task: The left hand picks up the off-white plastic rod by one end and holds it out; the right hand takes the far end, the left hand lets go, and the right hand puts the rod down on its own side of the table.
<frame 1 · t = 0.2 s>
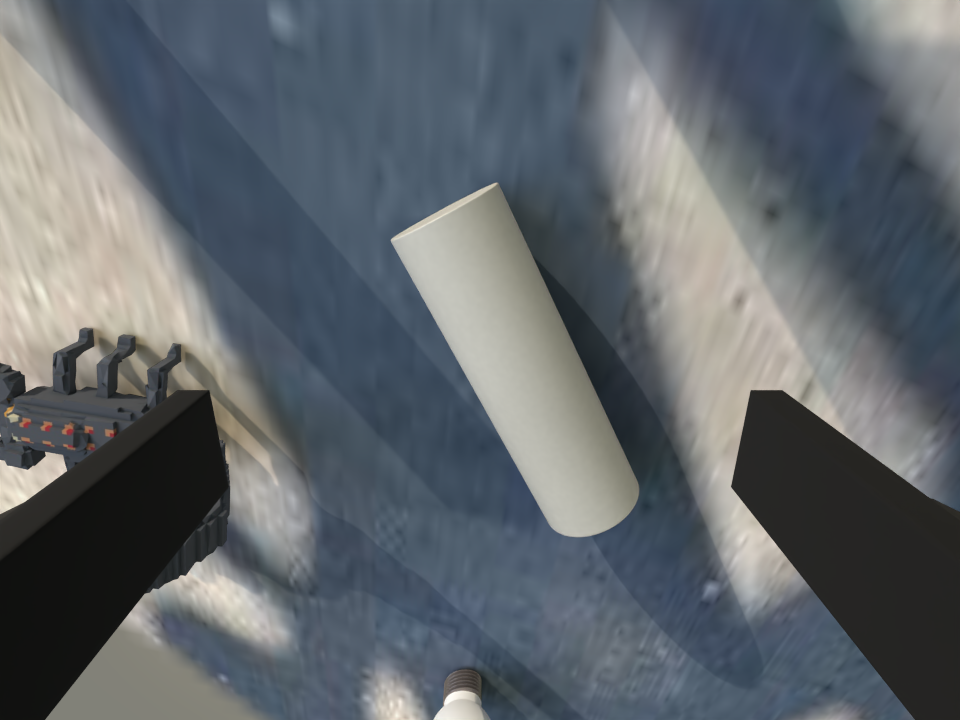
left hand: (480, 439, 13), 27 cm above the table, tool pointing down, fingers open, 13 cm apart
light bulb: (463, 680, 54), on the table
rod: (521, 352, 41), on the table
toy: (120, 401, 42), on the table
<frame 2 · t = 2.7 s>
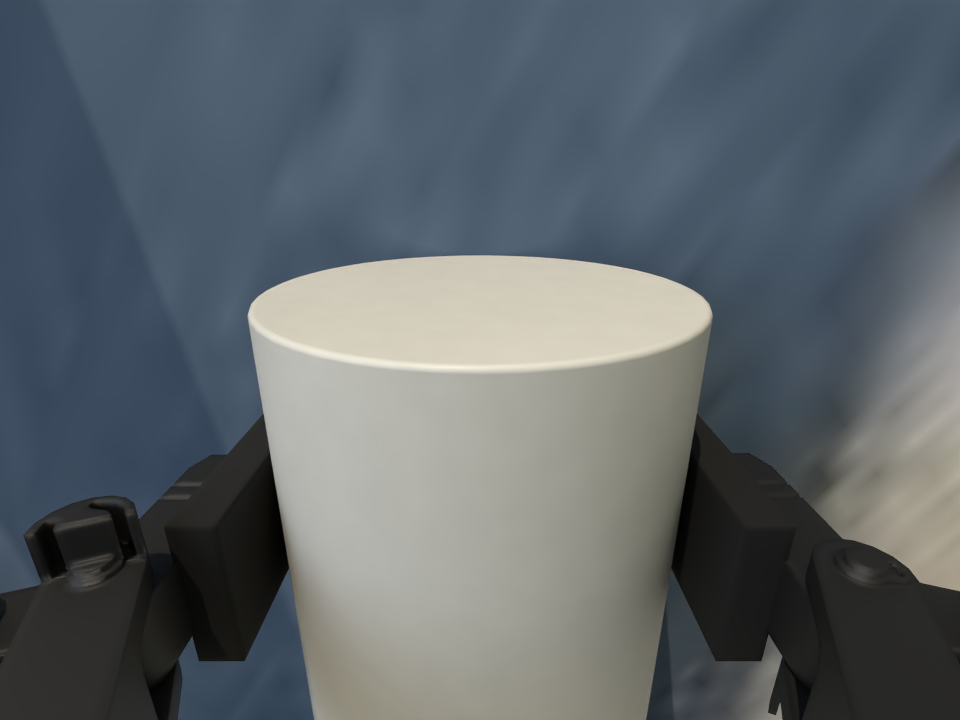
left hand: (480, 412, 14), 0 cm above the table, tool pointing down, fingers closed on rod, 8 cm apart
rod: (480, 626, 17), on the table, touching left hand
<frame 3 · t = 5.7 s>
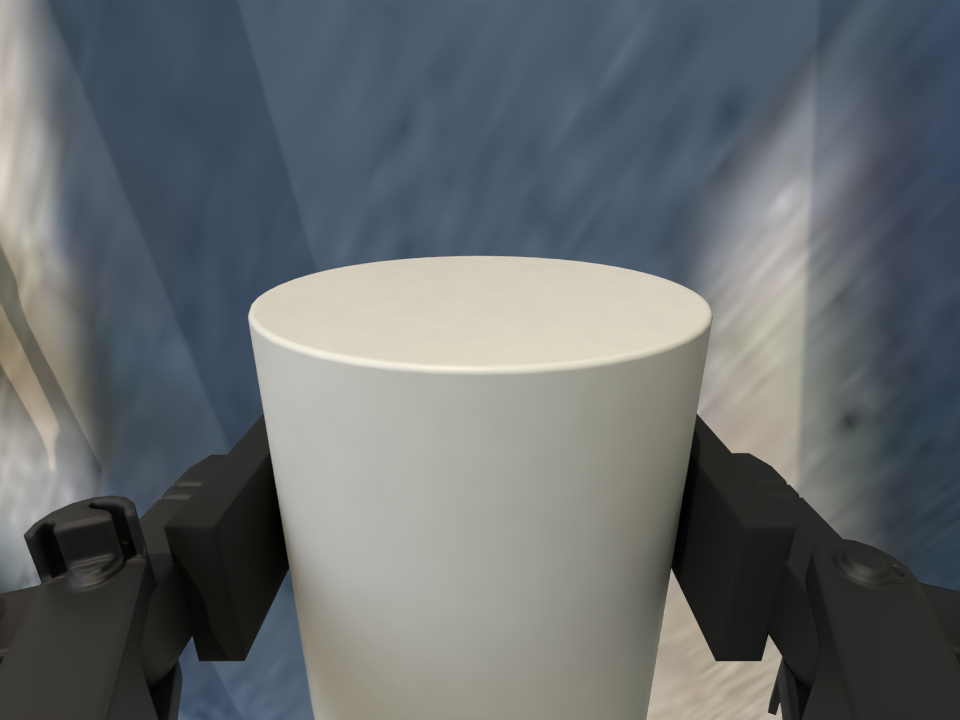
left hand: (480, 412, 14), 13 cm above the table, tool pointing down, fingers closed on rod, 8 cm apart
rod: (480, 626, 17), point 12 cm above the table, touching left hand
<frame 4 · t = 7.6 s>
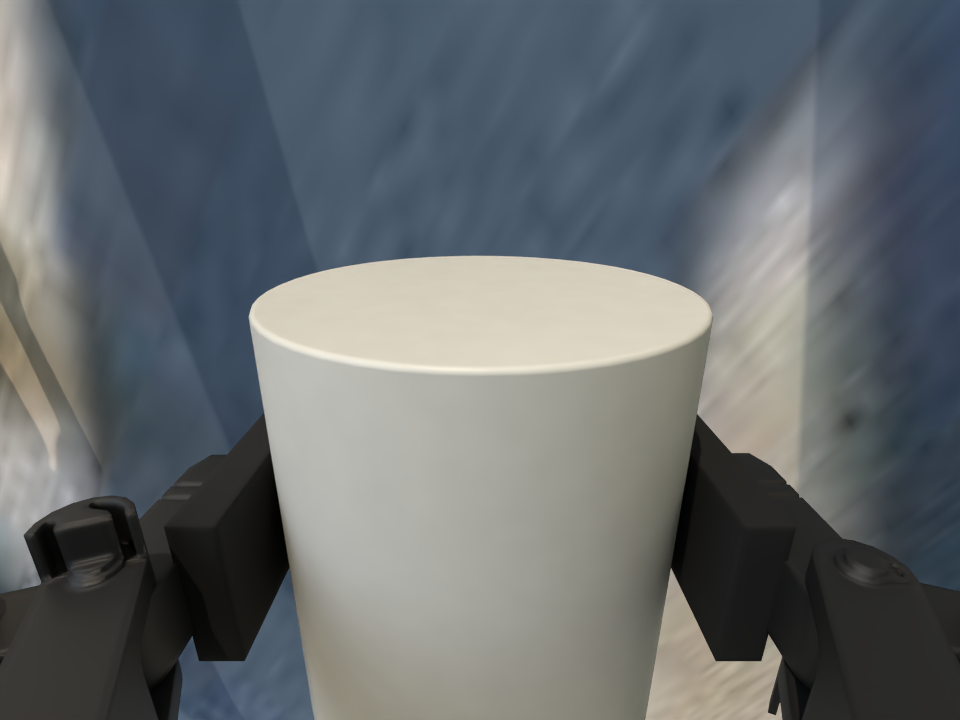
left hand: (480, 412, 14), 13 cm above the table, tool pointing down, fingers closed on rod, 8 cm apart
rod: (479, 625, 17), point 12 cm above the table, touching left hand, right hand
when the left hand's fingers open (13 cm above the table, at t = 8.7 s): rod stays where it is, held by the right hand.
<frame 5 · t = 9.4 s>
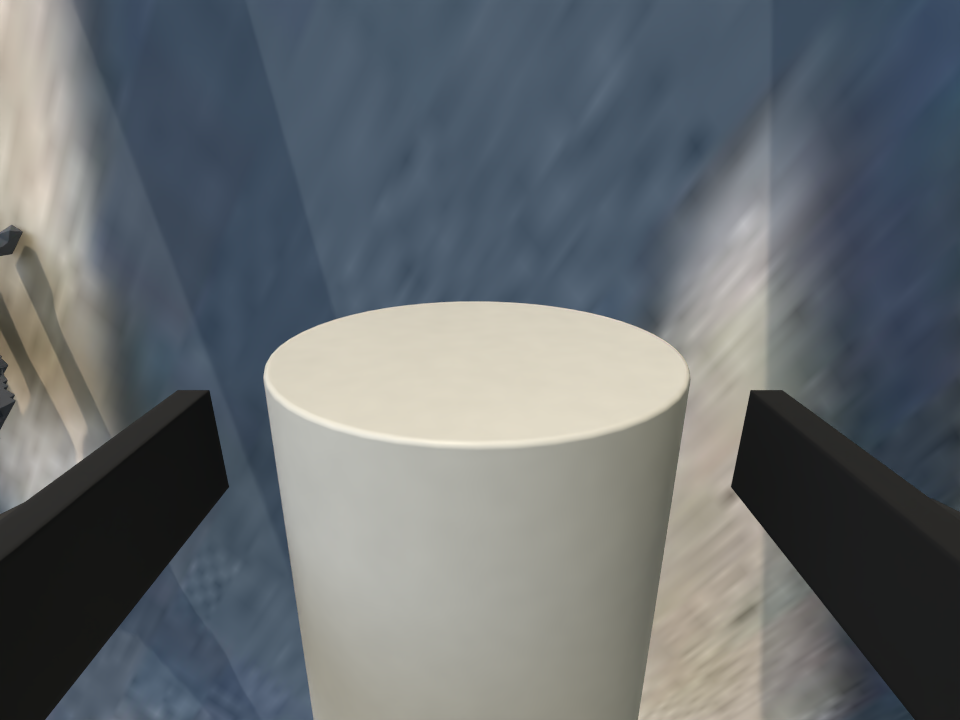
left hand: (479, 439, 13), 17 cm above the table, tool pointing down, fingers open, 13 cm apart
rod: (476, 650, 18), point 15 cm above the table, touching right hand
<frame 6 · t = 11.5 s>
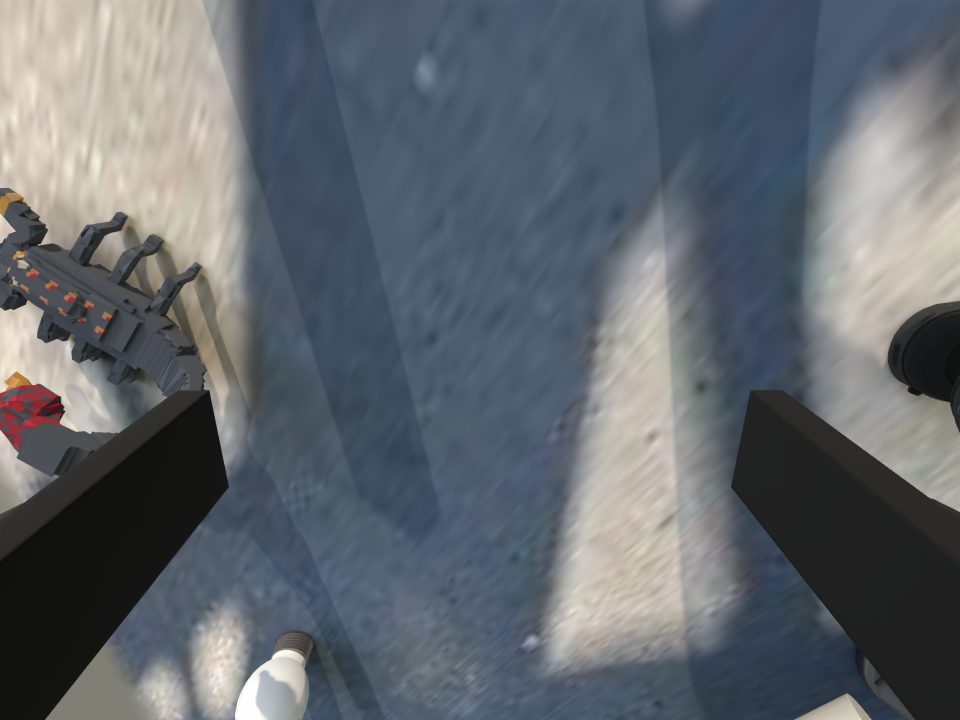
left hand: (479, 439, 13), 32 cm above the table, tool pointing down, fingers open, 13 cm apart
light bulb: (296, 643, 59), on the table
toy: (117, 286, 44), on the table
when the right hand's fingers open (2 cm above the table, at t = 15.7 s): rod drops 2 cm, on the table.
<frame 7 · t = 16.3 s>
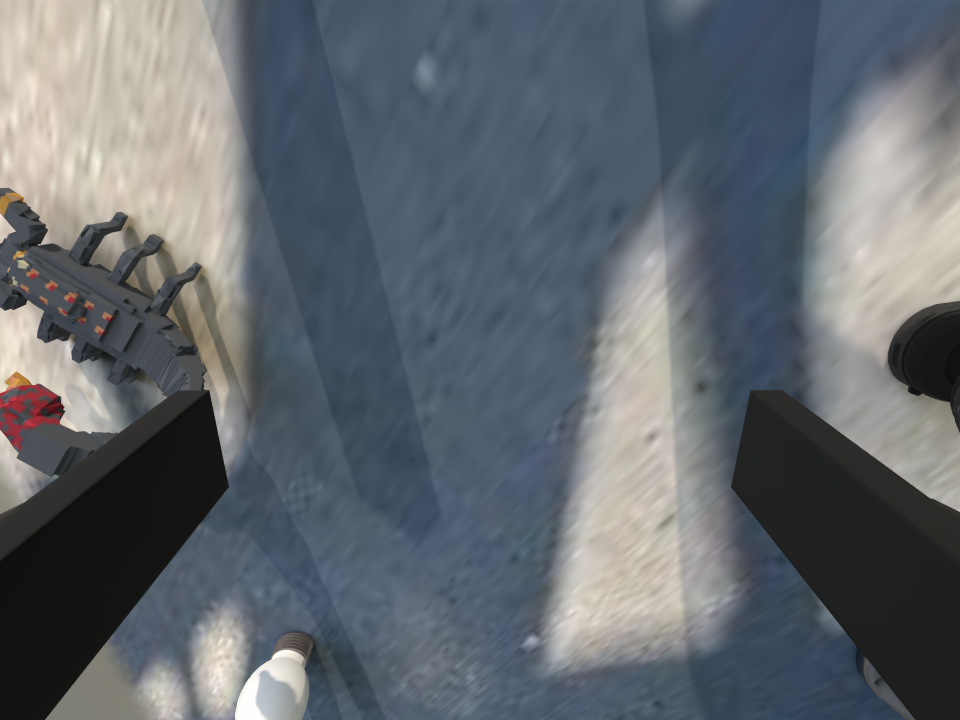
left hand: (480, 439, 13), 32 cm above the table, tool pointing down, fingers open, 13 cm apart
light bulb: (296, 643, 59), on the table
toy: (117, 286, 44), on the table
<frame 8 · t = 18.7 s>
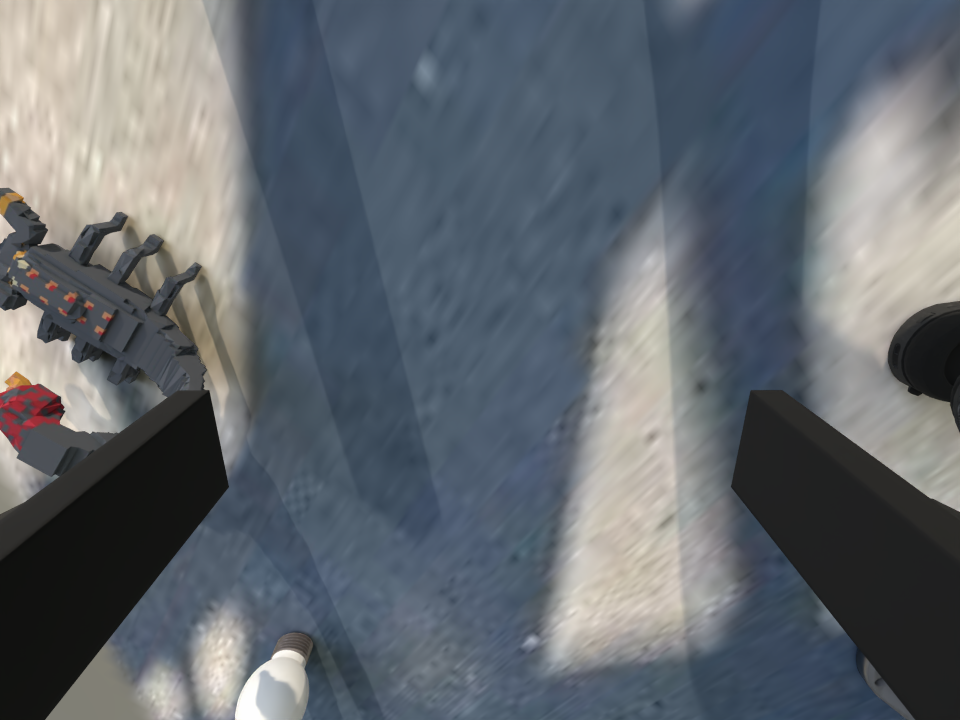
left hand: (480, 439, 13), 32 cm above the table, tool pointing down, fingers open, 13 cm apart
light bulb: (296, 643, 59), on the table
toy: (117, 286, 44), on the table
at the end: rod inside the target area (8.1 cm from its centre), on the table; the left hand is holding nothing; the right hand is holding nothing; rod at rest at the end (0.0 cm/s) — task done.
